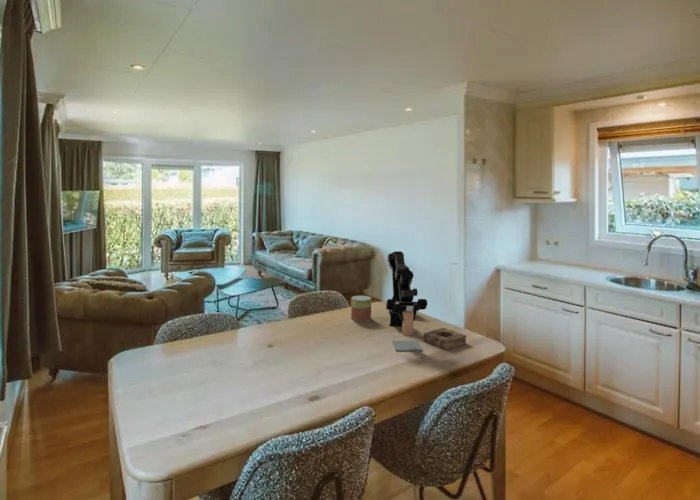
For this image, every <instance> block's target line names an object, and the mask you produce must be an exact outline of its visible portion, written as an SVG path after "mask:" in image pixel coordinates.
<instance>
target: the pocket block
mask: <svg viewBox="0 0 700 500" xmlns="http://www.w3.org/2000/svg"><path fill="white" fill-rule="evenodd" d="M423 342H424V343H427V344H430V345H433V346H435V347H438V348H440V349H443V350H446V351H447V350H450V349H453V348H456V347H459V346H462V345H465V344H466V343H467V335H466V334H463V333H461V332H458V331H454V330H453V329H448V328H446V327H440V328H437V329H433V330H430V331H427V332H423Z"/></svg>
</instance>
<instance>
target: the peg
mask: <svg viewBox="0 0 700 500" xmlns="http://www.w3.org/2000/svg"><path fill="white" fill-rule="evenodd" d="M413 318H414V312H412V311H403V321H402V326H401V329H402V330H401V334H402V335H403V336H413V334H414V320H413Z"/></svg>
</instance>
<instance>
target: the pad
mask: <svg viewBox="0 0 700 500" xmlns="http://www.w3.org/2000/svg"><path fill="white" fill-rule="evenodd" d="M391 342H392V344H393V346H394V348H395V351H396V352H423V351H424V349H423V348H422V346H421V344H420V342H419V341H418V340H415V339H414V340H392V341H391Z"/></svg>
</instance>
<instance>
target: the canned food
mask: <svg viewBox="0 0 700 500" xmlns="http://www.w3.org/2000/svg"><path fill="white" fill-rule="evenodd" d="M350 298H351V303H350V304H351V307H350V308H351V313H350V317H351V318H350V319H351V320H352V321H353V320H354V322H357V321H358V322H359V323H364V322H365V321H366V322H369V321H371V320H372V297H371V296H368V295H353V296H351V297H350ZM366 322H365V323H366Z"/></svg>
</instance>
